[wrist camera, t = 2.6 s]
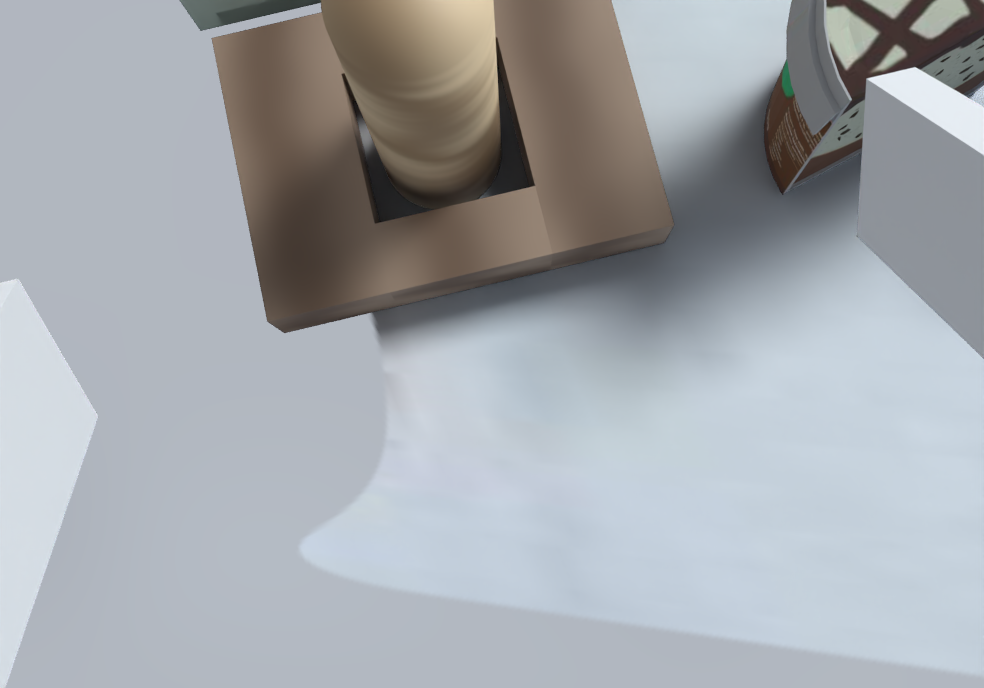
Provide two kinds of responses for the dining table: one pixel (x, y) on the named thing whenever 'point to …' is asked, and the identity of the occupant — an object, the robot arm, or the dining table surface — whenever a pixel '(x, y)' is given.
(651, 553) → the dining table surface
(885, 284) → the dining table surface
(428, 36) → the dowel
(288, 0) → the tray
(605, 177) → the dowel block
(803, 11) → the food container
